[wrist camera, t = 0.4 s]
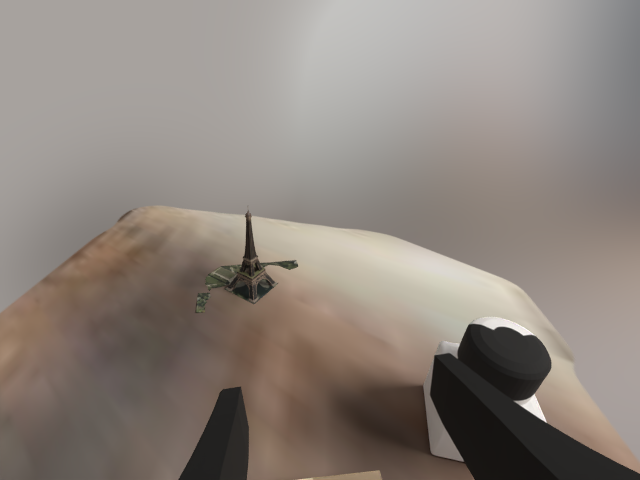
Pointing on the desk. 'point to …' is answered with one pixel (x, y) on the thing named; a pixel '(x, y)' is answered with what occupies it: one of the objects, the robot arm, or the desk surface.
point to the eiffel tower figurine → (243, 275)
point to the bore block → (351, 476)
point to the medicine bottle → (492, 370)
